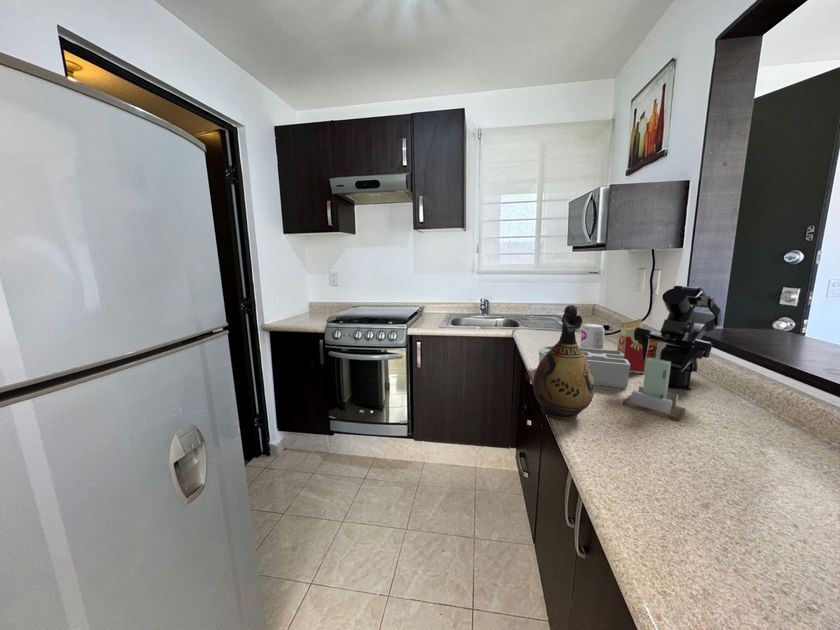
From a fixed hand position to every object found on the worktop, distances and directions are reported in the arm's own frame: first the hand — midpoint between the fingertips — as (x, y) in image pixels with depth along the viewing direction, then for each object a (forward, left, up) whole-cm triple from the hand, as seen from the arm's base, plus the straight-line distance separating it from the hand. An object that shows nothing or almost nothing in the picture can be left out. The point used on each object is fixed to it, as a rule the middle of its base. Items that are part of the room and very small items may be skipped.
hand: (661, 365), depth 96 cm
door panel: (+4, +8, -9) cm, 13 cm away
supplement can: (+13, -34, -10) cm, 37 cm away
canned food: (-10, -38, -10) cm, 40 cm away
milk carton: (+1, -27, -10) cm, 29 cm away
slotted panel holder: (+4, +8, -10) cm, 14 cm away
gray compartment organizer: (+20, -14, -11) cm, 27 cm away
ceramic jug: (+29, +18, -10) cm, 36 cm away
